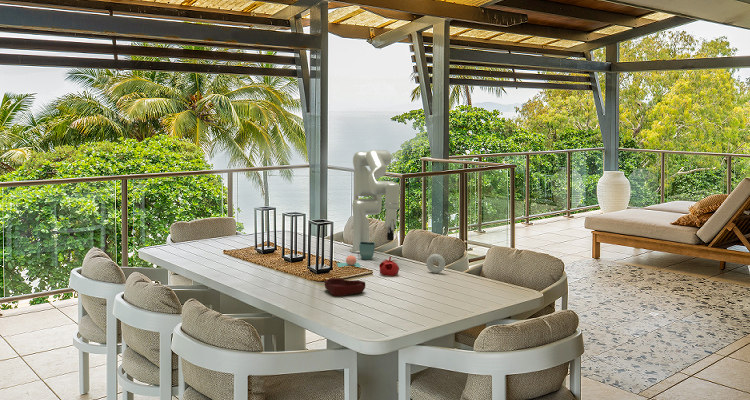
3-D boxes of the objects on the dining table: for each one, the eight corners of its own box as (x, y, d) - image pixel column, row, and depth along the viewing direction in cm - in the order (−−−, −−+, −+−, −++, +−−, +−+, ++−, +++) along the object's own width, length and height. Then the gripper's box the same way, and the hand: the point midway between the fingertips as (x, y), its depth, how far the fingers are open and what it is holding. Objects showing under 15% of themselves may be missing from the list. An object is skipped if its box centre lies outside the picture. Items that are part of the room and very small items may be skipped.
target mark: (336, 263, 358) (336, 262, 358) (358, 263, 360) (358, 262, 360) (338, 267, 346) (338, 267, 346) (361, 267, 348) (361, 267, 348)
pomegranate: (388, 272, 340) (389, 254, 339) (402, 275, 333) (403, 257, 332) (374, 274, 333) (375, 256, 332) (388, 277, 326) (389, 258, 325)
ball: (356, 261, 356) (347, 266, 355) (352, 252, 355) (343, 257, 354) (359, 263, 351) (349, 268, 350) (354, 254, 350) (345, 259, 349)
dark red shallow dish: (315, 295, 287) (315, 283, 287) (331, 287, 302) (331, 276, 302) (353, 300, 281) (353, 288, 280) (367, 292, 296) (368, 281, 295)
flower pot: (374, 260, 369) (375, 244, 368) (358, 260, 369) (359, 244, 368) (374, 257, 378) (375, 242, 377) (359, 257, 378) (359, 241, 377)
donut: (445, 273, 341) (446, 254, 340) (443, 274, 338) (444, 255, 337) (426, 271, 345) (427, 252, 344) (425, 272, 341) (425, 253, 341)
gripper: (382, 204, 360) (381, 237, 362) (386, 207, 345) (385, 242, 347) (396, 204, 361) (394, 237, 363) (401, 208, 346) (399, 242, 348)
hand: (390, 239), depth 355 cm, fingers closed
